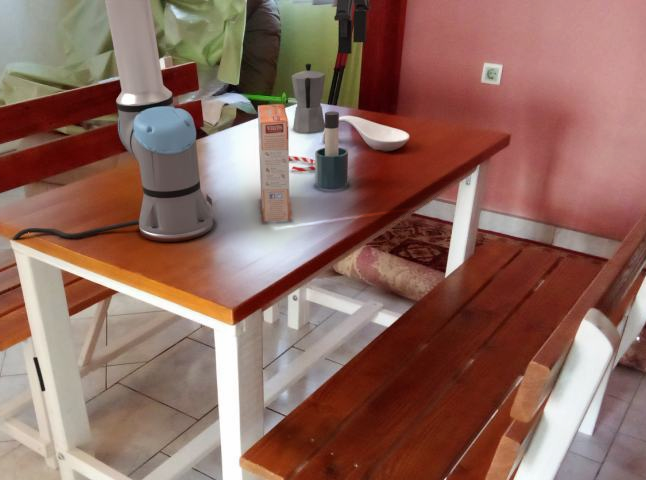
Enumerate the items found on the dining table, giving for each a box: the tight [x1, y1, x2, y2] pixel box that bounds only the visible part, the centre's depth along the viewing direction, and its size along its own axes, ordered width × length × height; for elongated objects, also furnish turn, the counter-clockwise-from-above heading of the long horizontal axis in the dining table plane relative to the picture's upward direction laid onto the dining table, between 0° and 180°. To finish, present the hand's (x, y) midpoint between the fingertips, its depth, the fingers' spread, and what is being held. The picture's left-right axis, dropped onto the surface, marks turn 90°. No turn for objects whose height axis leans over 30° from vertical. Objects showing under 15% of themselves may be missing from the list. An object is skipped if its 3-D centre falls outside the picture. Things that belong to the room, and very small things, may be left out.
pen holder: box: [314, 146, 349, 190], centre depth 163 cm, size 7×7×8 cm
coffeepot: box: [291, 63, 326, 134], centre depth 201 cm, size 15×9×18 cm, turn 175°
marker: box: [324, 110, 340, 156], centre depth 161 cm, size 3×3×16 cm
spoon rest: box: [321, 115, 410, 153], centre depth 188 cm, size 24×12×7 cm, turn 59°
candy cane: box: [289, 155, 315, 172], centre depth 179 cm, size 8×1×15 cm
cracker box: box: [257, 103, 291, 223], centre depth 149 cm, size 14×6×21 cm, turn 1°
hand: (352, 47), depth 158 cm, fingers open, 13 cm apart
